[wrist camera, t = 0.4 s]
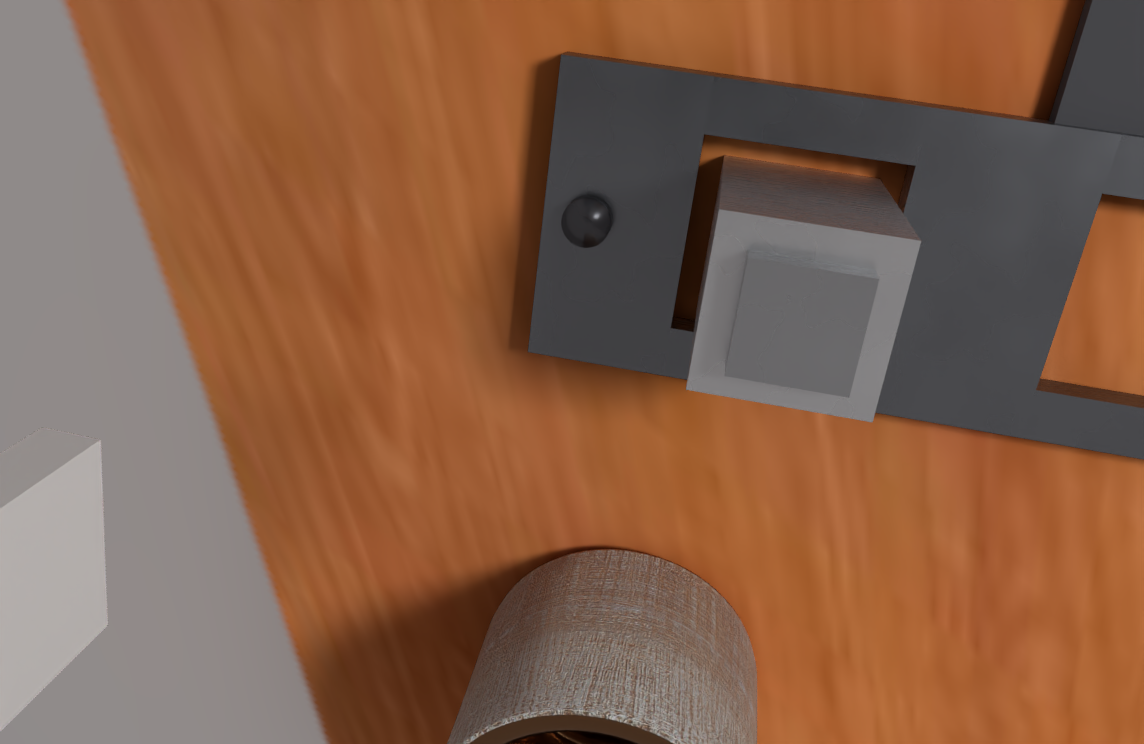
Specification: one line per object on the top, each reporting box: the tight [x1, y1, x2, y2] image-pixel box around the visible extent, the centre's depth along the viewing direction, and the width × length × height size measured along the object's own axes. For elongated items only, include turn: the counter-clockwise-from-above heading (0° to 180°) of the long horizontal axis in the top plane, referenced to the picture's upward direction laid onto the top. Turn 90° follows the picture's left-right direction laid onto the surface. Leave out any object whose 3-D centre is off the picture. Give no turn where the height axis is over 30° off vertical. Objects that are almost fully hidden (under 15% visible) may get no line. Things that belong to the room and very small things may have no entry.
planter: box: [447, 549, 757, 744], centre depth 36 cm, size 11×11×10 cm
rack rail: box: [528, 52, 1144, 459], centre depth 31 cm, size 10×28×2 cm, turn 83°
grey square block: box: [686, 155, 921, 422], centre depth 29 cm, size 5×5×9 cm
